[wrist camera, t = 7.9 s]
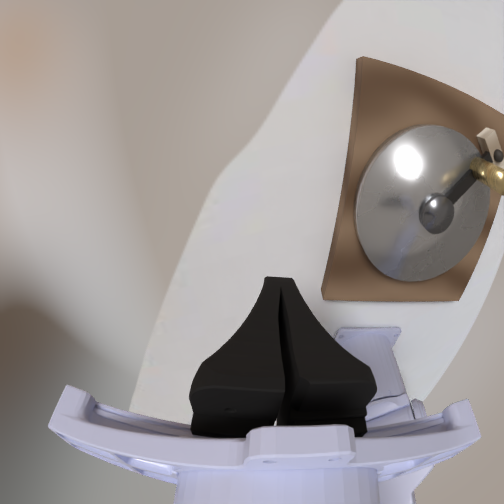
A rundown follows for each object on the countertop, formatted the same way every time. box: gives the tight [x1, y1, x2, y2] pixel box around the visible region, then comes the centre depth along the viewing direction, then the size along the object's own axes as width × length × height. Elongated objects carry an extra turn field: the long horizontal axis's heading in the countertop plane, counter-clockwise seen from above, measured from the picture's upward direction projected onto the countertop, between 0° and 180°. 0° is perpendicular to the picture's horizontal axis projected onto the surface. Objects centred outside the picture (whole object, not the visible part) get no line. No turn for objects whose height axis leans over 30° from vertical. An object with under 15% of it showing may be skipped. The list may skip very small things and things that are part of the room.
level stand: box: [321, 56, 504, 301], centre depth 18 cm, size 20×16×3 cm
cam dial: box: [353, 124, 504, 282], centre depth 16 cm, size 14×13×5 cm
